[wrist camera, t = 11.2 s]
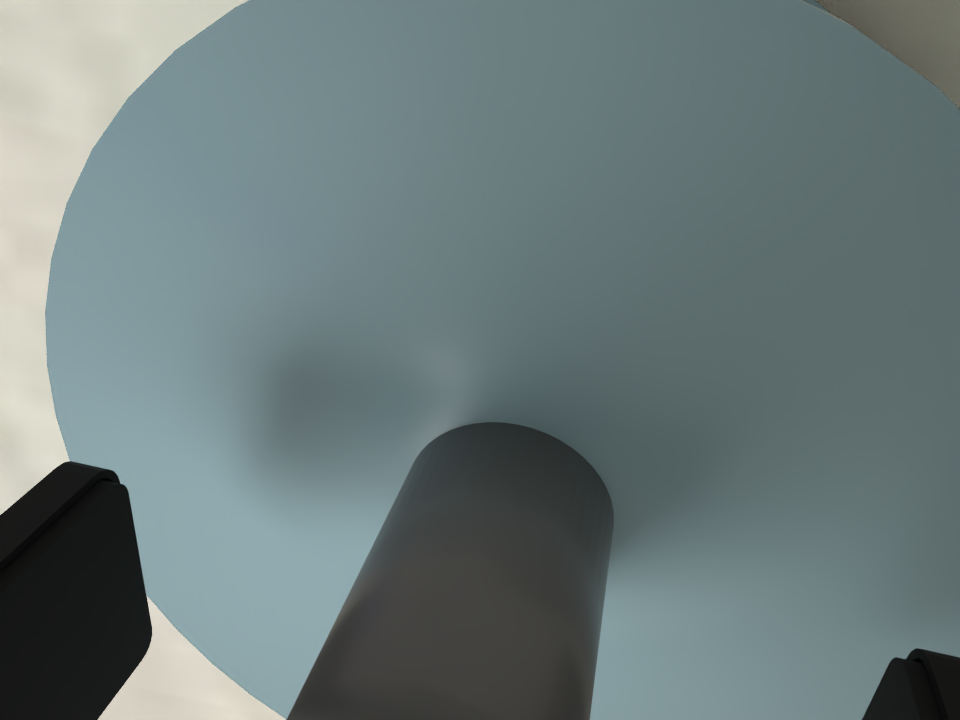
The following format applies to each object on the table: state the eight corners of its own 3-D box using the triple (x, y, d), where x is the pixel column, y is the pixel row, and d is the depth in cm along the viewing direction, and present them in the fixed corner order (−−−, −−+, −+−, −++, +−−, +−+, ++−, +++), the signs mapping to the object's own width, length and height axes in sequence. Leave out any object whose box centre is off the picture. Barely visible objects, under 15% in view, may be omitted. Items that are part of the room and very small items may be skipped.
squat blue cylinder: (217, -113, 15) (-601, -142, 6) (1105, -33, 13) (2379, 158, 3) (267, 506, 23) (-34, 937, 13) (823, 628, 21) (938, 1259, 11)
